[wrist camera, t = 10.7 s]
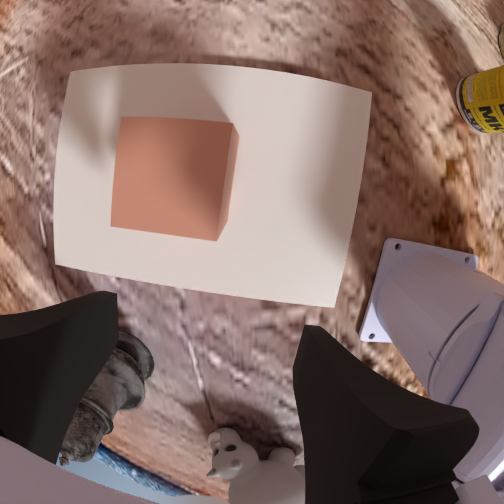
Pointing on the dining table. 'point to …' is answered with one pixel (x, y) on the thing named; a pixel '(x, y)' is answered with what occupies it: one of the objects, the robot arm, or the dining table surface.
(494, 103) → the supplement bottle
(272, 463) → the round bodied animal figurine
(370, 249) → the dining table surface
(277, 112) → the tray
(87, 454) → the salt shaker
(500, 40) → the ceramic model
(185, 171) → the cube
